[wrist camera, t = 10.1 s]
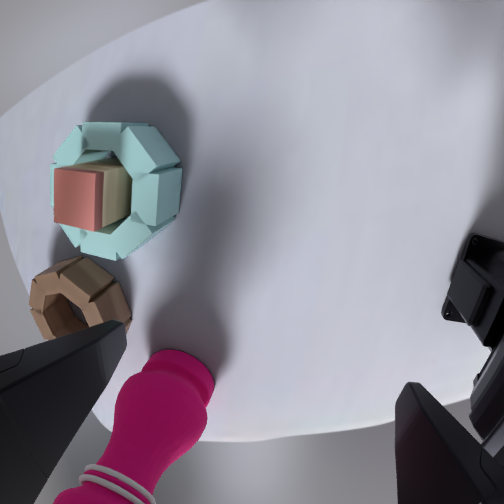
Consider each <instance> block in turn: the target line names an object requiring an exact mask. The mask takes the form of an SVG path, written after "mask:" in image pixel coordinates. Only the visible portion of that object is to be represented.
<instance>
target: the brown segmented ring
mask: <svg viewBox="0 0 504 504" xmlns="http://www.w3.org/2000/svg"><path fill="white" fill-rule="evenodd" d="M113 280H114V276H112V275H111V274H110V273H108V272H107V271H106V270H104V269H103V268H101V267H100V266H99V265H97V264H96V263H95V262H93V261H92V260H91V259H89V258H88V257H86V258H84V259H83V256H79V257H75V258H71V259H67V260H63V261H60V262H58V263H56V264H55V265H53V266H51V267H50V268H48V269H46V270H45V271H43V272H41V273H40V274H38V275H36V276H35V278H34V279H33V280H32V285H31V292H30V300H29V305H30V306H31V307H32V309H31V310H30V311H31V313H32V315H33V317H34V320H35V322H36V324H37V326H38V328H39V330H40V332H41V334H42V336H43V338H44V339H48V341H49V340H52V339H55V338H58V337H61V336H64V335H67V334H70V333H73V332H76V331H79V330H82V329H85V328H88V326H87V325H85V324H84V323H83V322H82V321H80V320H79V319H78V318H76V317H75V315H74V313H73V311H72V309H71V307H70V304H69V302H68V300H67V298H68V299H69V300H70V301H72V302H73V303H74V304H75V305H77V306H78V307H79V308H80V309H81V310H82V312H83V314H84V316H85V319H86V321H87V323H88V325H89V327H91V326H94V325H97V324H100V323H103V322H106V321H109V320H112V319H115V320H118V321H121V322H123V323H124V324H125V327H126V334H127V331H128V329H129V327H130V324H131V322H132V320H131V319H130V317H131V316H132V314H131V312H130V309H129V307H128V305H127V302H126V300H125V297H124V295H123V292H122V290H121V287H120V285H119V282H117V283H113Z"/></svg>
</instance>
